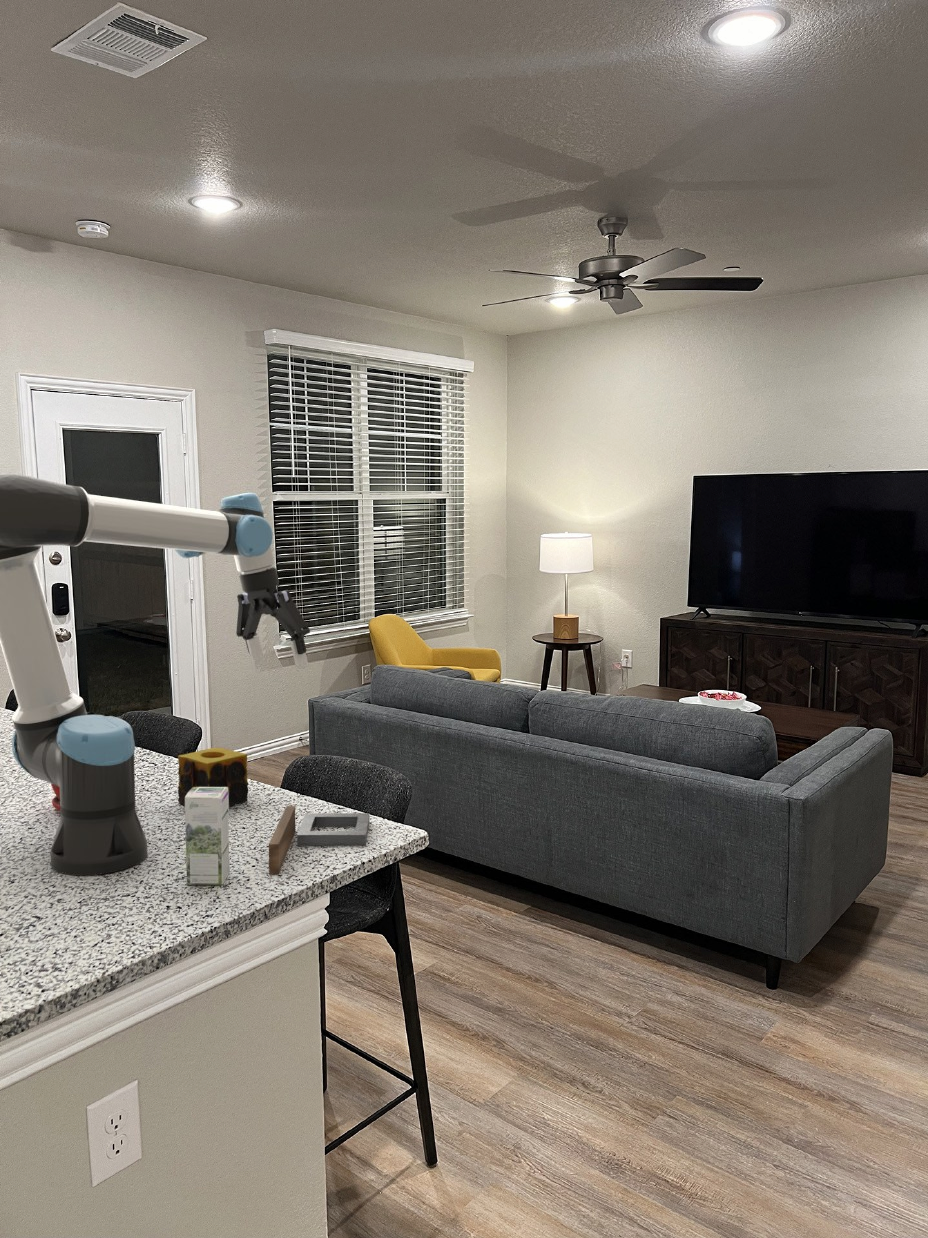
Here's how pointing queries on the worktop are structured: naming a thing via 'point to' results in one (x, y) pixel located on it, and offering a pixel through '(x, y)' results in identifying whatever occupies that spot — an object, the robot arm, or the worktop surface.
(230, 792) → the candle
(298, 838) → the block
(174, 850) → the worktop surface
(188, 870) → the syrup box
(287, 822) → the rail
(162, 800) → the worktop surface
